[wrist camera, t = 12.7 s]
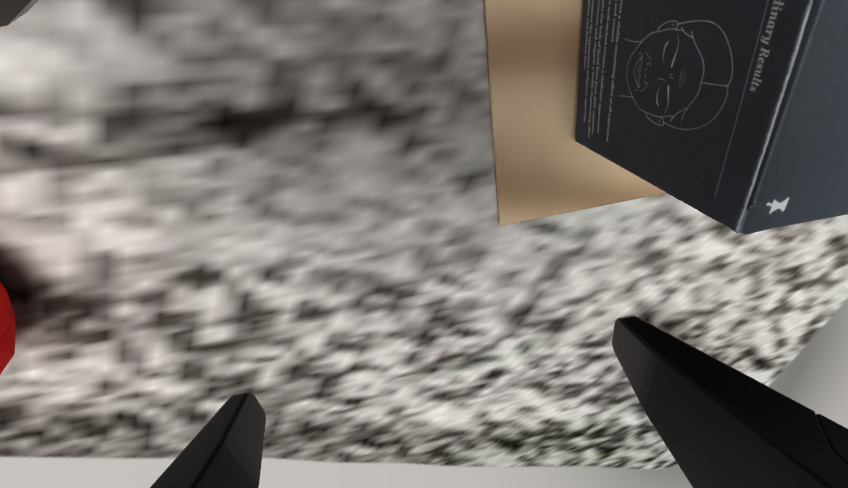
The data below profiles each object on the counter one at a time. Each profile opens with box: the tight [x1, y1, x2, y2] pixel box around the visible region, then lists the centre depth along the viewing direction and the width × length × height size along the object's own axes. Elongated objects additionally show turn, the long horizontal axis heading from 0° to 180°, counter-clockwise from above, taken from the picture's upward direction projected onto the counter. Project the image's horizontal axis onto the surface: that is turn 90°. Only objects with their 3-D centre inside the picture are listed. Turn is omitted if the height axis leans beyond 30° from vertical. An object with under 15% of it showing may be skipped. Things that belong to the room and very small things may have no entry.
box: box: [575, 0, 848, 234], centre depth 13 cm, size 8×6×11 cm
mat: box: [484, 0, 666, 226], centre depth 18 cm, size 16×12×1 cm
